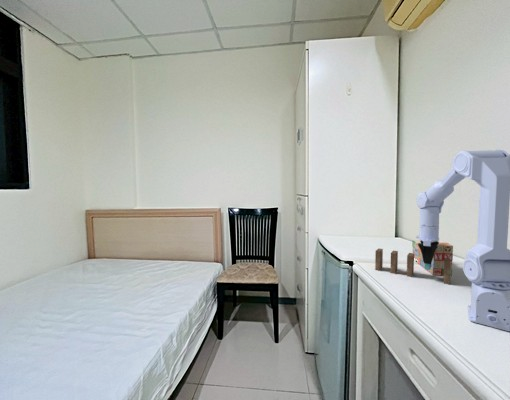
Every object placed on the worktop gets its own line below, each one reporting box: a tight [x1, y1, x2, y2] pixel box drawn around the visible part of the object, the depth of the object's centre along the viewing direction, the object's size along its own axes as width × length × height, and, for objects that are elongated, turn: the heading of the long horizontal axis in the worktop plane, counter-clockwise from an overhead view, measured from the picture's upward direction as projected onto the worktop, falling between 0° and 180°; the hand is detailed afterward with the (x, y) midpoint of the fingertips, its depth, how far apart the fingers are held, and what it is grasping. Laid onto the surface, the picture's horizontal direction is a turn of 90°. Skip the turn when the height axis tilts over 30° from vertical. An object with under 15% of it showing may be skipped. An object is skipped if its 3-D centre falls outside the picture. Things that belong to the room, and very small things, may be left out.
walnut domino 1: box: [374, 248, 384, 272], centre depth 98 cm, size 2×5×8 cm, turn 140°
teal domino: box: [424, 263, 431, 271], centre depth 87 cm, size 2×5×8 cm, turn 140°
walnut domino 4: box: [443, 258, 451, 285], centre depth 84 cm, size 2×5×8 cm, turn 140°
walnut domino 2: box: [390, 250, 399, 275], centre depth 94 cm, size 2×5×8 cm, turn 140°
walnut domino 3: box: [406, 252, 415, 278], centre depth 91 cm, size 2×5×8 cm, turn 140°
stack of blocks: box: [411, 239, 454, 278], centre depth 99 cm, size 21×6×12 cm, turn 165°
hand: (428, 261), depth 87 cm, fingers closed on teal domino, 5 cm apart
